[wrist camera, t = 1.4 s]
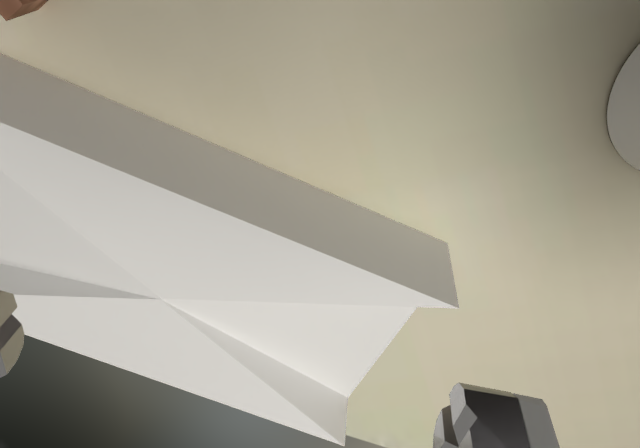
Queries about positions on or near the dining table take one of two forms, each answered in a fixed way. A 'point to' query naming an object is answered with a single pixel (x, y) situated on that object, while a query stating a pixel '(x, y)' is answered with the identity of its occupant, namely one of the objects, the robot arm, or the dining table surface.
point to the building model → (197, 258)
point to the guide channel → (19, 7)
